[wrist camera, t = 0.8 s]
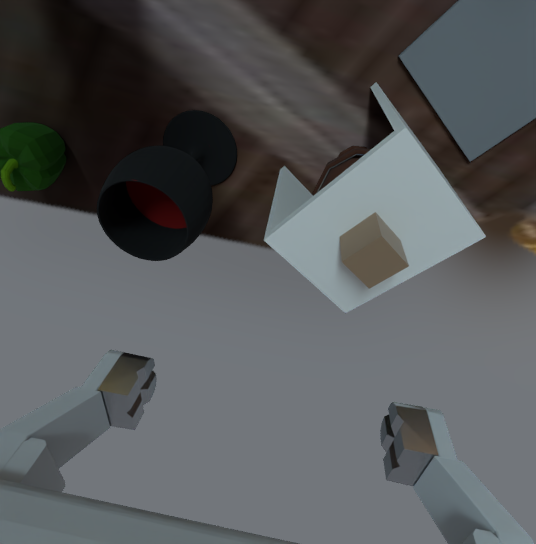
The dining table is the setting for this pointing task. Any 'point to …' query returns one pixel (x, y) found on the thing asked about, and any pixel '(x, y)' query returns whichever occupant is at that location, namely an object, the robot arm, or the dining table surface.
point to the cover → (371, 219)
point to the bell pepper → (30, 156)
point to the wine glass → (167, 187)
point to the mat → (479, 70)
